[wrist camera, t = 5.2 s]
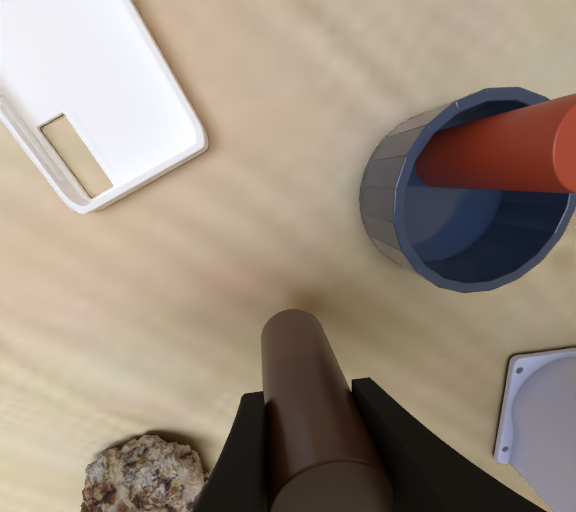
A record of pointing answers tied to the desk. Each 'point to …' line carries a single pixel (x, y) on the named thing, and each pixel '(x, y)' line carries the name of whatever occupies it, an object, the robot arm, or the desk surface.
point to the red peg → (507, 151)
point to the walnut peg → (315, 426)
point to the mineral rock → (144, 478)
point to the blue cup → (458, 206)
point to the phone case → (93, 94)
